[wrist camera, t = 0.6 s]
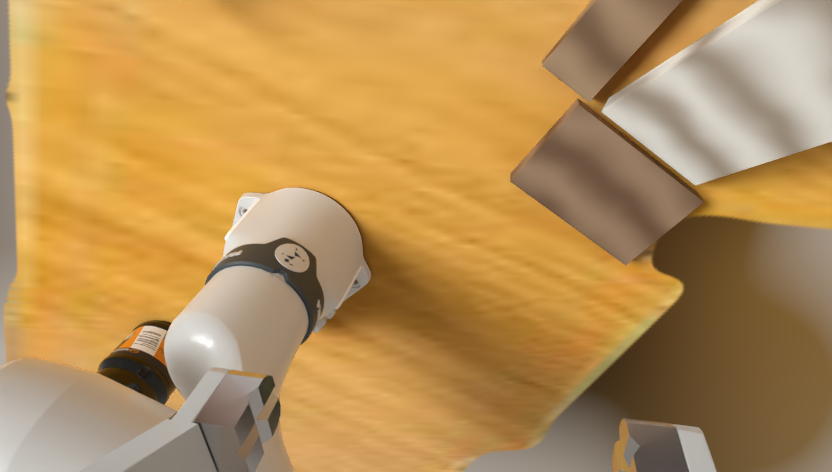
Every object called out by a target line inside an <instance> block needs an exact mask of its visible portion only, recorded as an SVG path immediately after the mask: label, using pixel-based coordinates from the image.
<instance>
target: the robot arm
mask: <svg viewBox="0 0 832 472" xmlns="http://www.w3.org/2000/svg"><path fill="white" fill-rule="evenodd" d="M245 209H247V211H246V210H245ZM225 240H226V244H225V247H224V253H223V258H222V259H221V260H220V261H219V262H218V263H217V264H216V265H215V267H214V268H213V271H212V272H211V273H210V274H209V276H208V277H207V280H206V283H205V286H204V287H203V288H202V289H201V290H200V292H199V293H198V294H197V295H196V296H195V297H194V298H193V299H192V300H191V302H190V303H189V304H188V305H187V306H186V307H185V308H184V309H183V311H182V312H181V313H180V314H179V315H178V316H177V317H176V318H175V320H174V321H173V322H172V323H171V325H170V327H169V329H168V331H167V334H166V337H165V342H164V357H165V362H166V365H167V369H168V372H169V375H170V377H171V379H172V381H173V383H174V385H175V386H176V388H177V389H178V390H179V392H180V393H181V395H182V396H183V397H184V399H185V400H186V401H185V403H184V404H183V405H182V407H181V408H180V409H179V411H176V410H174V409H172V408H170V407H168V406H166V405H164V404H162V403H159V402H157V401H155V400H153V399H151V398H149V397H147V396H145V395H143V394H141V393H139V392H137V391H134V390H132V389H130V388H128V387H126V386H124V385H122V384H120V383H118V382H116V381H114V380H112V379H109V378H107V377H105V376H103V375H101V374H99V373H95V372H92V371H88V370H84V369H81V368H77V367H73V366H70V365H66V364H61V363H57V362H52V361H48V360H44V359H39V358H35V357H26V358H21V359H18V360H14V361H10V362H8V363H5V364H2V365H0V472H296V471H295V469H294V467H293V465H292V464H291V461H290V459H289V456H288V454H287V451H286V448H285V445H284V442H283V438H282V434H281V429H280V422H279V418H280V402H279V397H280V392H281V388H282V385H283V382H284V379H285V377H286V374H287V372H288V369H289V367H290V365H291V362H292V360H293V358H294V356H295V354H296V352H297V350H298V348H299V346H300V345H301V344H302V343H304V342H305V341H306V340H307V339H308V337H309V336H310V334H311V333H312V332H313V331H314V332H316V333H317V332H318V331H320V330H321V329H322V327H323V326H324V325H325V323H326V321H327V319H326V318H328V319H331V318H332V317H333V316H334V314H335V313H336V310H337V309H338V308H339V307H340V306H341V304H342V303H343V302H344V301H345V300H346V299H348V298H349V297H350V296H352V295H353V294H354V293H356V292H357V291H358V290H360V289H361V288H362V287H364V286H365V285H366V284H367V283H368V282H369V280H370V279H371V272H370V269H369V267H368V265H367V263H366V261H365V260H364V257H363V246H362V239H361V235H360V232H359V230H358V227H357V225H356V224H355V222H354V220H353V219H352V217H351V216H350V215H349V214H348V212H347V211H346V210H345V209H344V208H343V207H342V206H340V205H339V204H338V203H337V202H335V201H334V200H332V199H331V198H329V197H327V196H325V195H323V194H321V193H319V192H316V191H313V190H309V189H304V188H285V189H281V190H277V191H274V192H271V193H267V194H262V193H245V194H243V195H242V196H241V198H240V199H239V201H238V205H237V209H236V213H235V218H234V222H233V226H232V228H231V230H230V231H229V232H228V233H227V235H226V236H225ZM355 280H357V281H358V282H356V281H355ZM335 309H336V310H335ZM619 434H620V439H621V440H619V441H617V442H616V443H615V446H614V451H613V462H612V469H613V472H717V470H716V468H715V465H714V462H713V459H712V457H711V453H710V451H709V448H708V445H707V442H706V439H705V437H704V434H703V432H702V430H701V429H700V428H699V427H691V426H683V425H672V424H670V423H660V422H652V421H643V420H634V419H625V418H624V419H623V420H622V421H621V423H620V427H619Z"/></svg>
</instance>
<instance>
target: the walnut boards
mask: <svg viewBox="0 0 832 472" xmlns="http://www.w3.org/2000/svg"><path fill="white" fill-rule="evenodd" d="M681 1H682V0H592V1H591V2H590V3H589V4H588V6H587V7H586V8H585V9H584V11H583V12H582V13H581V14H580V16H579V17H578V18H577V19H576V20H575V22H574V23H573V24H572V25H571V27H570V28H569V29H568V30H567V32H566V33H565V34H564V35H563V36H562V38H561V39H560V40H559V41H558V43H557V44H556V45H555V46H554V48H553V49H552V50H551V51H550V53H549V54H548V55H547V56H546V57H545V59H544V60H543V61H542V62H543V67H545V68H546V69H547V70H549V71H550V72H551V73H552V74H554V75H555V76H556V77H557V78H559V79H560V80H561V81H563V82H564V83H565V84H566V85H568V86H569V87H570V88H571V89H573V90H574V91H575V92H577V93H578V94H579V95H580V96H582V97H583V98H584V99H585V100H587V101H588V102H590V101H591V100H592V99H593V97H594V96H595V95H596V94H597V93H598V92H599V91H600V90H601V89H602V88H603V87H604V85H605V84H606V83H607V82H608V81H609V80H610V79H611V78H612V77H613V76H614V75H615V73H616V72H617V71H618V70H619V69H620V68H621V67H622V66H623V65H624V64H625V63H626V61H627V60H628V59H629V58H630V57H631V56H632V55H633V54H634V53H635V52H636V51H637V49H638V48H639V47H640V46H641V45H642V44H643V43H644V42H645V41H646V40H647V39H648V37H649V36H650V35H651V34H652V33H653V32H654V31H655V30H656V29H657V28H658V26H659V25H660V24H661V23H662V22H663V21H664V20H665V19H666V18H667V17H668V16H669V14H670V13H671V12H672V11H673V10H674V9H675V8H676V7H677V6H678V5H679V4H680V2H681ZM510 182H512V183H513V184H515V185H516V186H517V187H519V188H520V189H521V190H523V191H524V192H526V193H527V194H528V195H530V196H531V197H532V198H534V199H535V200H537V201H538V202H539V203H541V204H542V205H543V206H545V207H546V208H548V209H549V210H550V211H552V212H553V213H554V214H556V215H557V216H559V217H560V218H561V219H563V220H564V221H565V222H567V223H568V224H570V225H571V226H572V227H574V228H575V229H576V230H578V231H579V232H581V233H582V234H583V235H585V236H586V237H587V238H589V239H590V240H592V241H593V242H594V243H596V244H597V245H598V246H600V247H601V248H603V249H604V250H605V251H607V252H608V253H609V254H611V255H612V256H614V257H615V258H616V259H618V260H619V261H620V262H622V263H623V264H625V265H627V264H628V263H630V262H631V261H632V260H633V259H634V258H636V257H637V256H638V255H639V254H641V253H642V252H643V251H644V250H645V249H647V248H648V247H649V246H650V245H652V244H653V243H654V242H655V241H657V240H658V239H659V238H660V237H661V236H663V235H664V234H665V233H666V232H667V231H669V230H670V229H671V228H672V227H674V226H675V225H676V224H677V223H679V222H680V221H681V220H682V219H684V218H685V217H686V216H687V215H688V214H690V213H691V212H692V211H693V210H695V209H696V208H697V207H698V206H699V205H701V204H702V203H703V200H702V199H701V197H700V196H699V194H698V193H697V192H696V191H695V190H693V189H692V188H691V187H689V186H688V185H687V184H686V183H684V182H683V181H682V180H681V179H679V178H678V177H677V176H675V175H674V174H673V173H672V172H670V171H669V170H668V169H666V168H665V167H664V166H663V165H661V164H660V163H659V162H658V161H656V160H655V159H654V158H652V157H651V156H650V155H649V154H647V153H646V152H645V151H643V150H642V149H641V148H640V147H638V146H637V145H636V144H635V143H633V142H632V141H631V140H629V139H628V138H627V137H626V136H624V135H623V134H622V133H620V132H619V131H618V130H617V129H615V128H614V127H613V126H612V125H610V124H609V123H608V122H606V121H605V120H604V119H603V118H601V117H600V116H599V115H597V114H596V113H595V112H594V111H592V110H591V109H590V108H589V107H587V106H586V105H585V104H583V103H582V102H581V101H580V100H578V99H577V100H576V101H575V102H574V104H573V105H572V106H571V107H570V108H569V109H568V110H567V111H566V112H565V114H564V115H563V116H562V117H561V118H560V119H559V120H558V121H557V122H556V124H555V125H554V126H553V127H552V128H551V129H550V130H549V131H548V133H547V134H546V135H545V136H544V137H543V138H542V139H541V140H540V141H539V143H538V144H537V145H536V146H535V147H534V148H533V149H532V150H531V151H530V153H529V154H528V155H527V156H526V157H525V158H524V159H523V160H522V161H521V163H520V164H519V165H518V166H517V167H516V168H515V169H514V170H513V172H512V173H511V177H510Z"/></svg>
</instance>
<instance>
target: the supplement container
mask: <svg viewBox="0 0 832 472" xmlns="http://www.w3.org/2000/svg"><path fill="white" fill-rule="evenodd" d="M169 327H170V324H168V323H164V322H160V321H147V322H144V323H141V324H140V325H138V326H137V327H136V328H135V329H134V330H133V331H132V332H131V333H130V334H129V336H128V337H127V338H126V339H125V340H124V341H123V342H122V343H121V344H120V345H119V346H118V347H117V348H116V349H115V350H114V351H113V352H112V353H111V354H110V355H109V356H108V357H106V358H105V359H104V360H103V361H102V362H101V363H100V365H99V368H98V372H97V373H99V374H101V375H103V376H105V377H107V378H109V379H112V380H114V381H116V382H118V383H120V384H122V385H124V386H126V387H128V388H130V389H132V390H134V391H137V392H139V393H141V394H143V395H145V396H147V397H149V398H151V399H153V400H155V401H157V402H159V403H162V404H165V403H166V402H167V401H168V399H169V396H170V395H171V394H172V392H173V391H174V390H175V389H176V386H175V385H174V383H173V381H172V379H171V377H170V375H169V372H168V369H167V365H166V362H165V357H164V342H165V337H166V334H167V331H168V329H169Z"/></svg>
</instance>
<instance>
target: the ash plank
mask: <svg viewBox="0 0 832 472" xmlns="http://www.w3.org/2000/svg"><path fill="white" fill-rule="evenodd" d="M602 113H603V114H605V115H606V116H607V117H609V118H610V119H611V120H612V121H614V122H615V123H616V124H618V125H619V126H620V127H621V128H623V129H624V130H625V131H626V132H628V133H629V134H630V135H632V136H633V137H634V138H635V139H637V140H638V141H639V142H640V143H642V144H643V145H644V146H646V147H647V148H648V149H649V150H651V151H652V152H653V153H654V154H656V155H657V156H658V157H660V158H661V159H662V160H663V161H665V162H666V163H667V164H668V165H670V166H671V167H672V168H674V169H675V170H676V171H677V172H679V173H680V174H681V175H682V176H684V177H685V178H686V179H688V180H689V181H690V182H691V183H693V184H694V185H698V184H701V183H705V182H708V181H711V180H714V179H717V178H720V177H723V176H726V175H729V174H733V173H736V172H739V171H742V170H745V169H748V168H751V167H754V166H757V165H760V164H764V163H767V162H770V161H773V160H776V159H779V158H782V157H785V156H788V155H791V154H795V153H798V152H801V151H804V150H807V149H810V148H813V147H816V146H819V145H823V144H826V143H829V142H832V0H759V1H757V2H756V3H754V4H753V5H751V6H749V7H748V8H746V9H745V10H743V11H742V12H740V13H739V14H737V15H736V16H734V17H733V18H731V19H729V20H728V21H726V22H725V23H723V24H722V25H720V26H719V27H717V28H716V29H714V30H712V31H711V32H709V33H708V34H706V35H705V36H703V37H702V38H700V39H699V40H697V41H696V42H694V43H692V44H691V45H689V46H688V47H686V48H685V49H683V50H682V51H680V52H679V53H677V54H675V55H674V56H672V57H671V58H669V59H668V60H666V61H665V62H663V63H662V64H660V65H659V66H657V67H655V68H654V69H652V70H651V71H649V72H648V73H646V74H645V75H643V76H642V77H640V78H639V79H637V80H635V81H634V82H632V83H631V84H629V85H628V86H626V87H625V88H623V89H622V90H620V91H618V92H617V93H615V94H614V95H612V96H611V97H609V98H608V100H607V102H606V104H605V106H604V108H603V110H602Z"/></svg>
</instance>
